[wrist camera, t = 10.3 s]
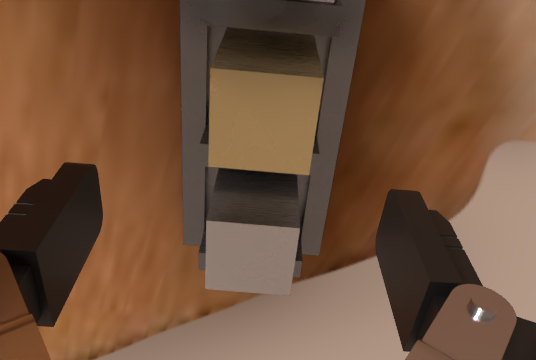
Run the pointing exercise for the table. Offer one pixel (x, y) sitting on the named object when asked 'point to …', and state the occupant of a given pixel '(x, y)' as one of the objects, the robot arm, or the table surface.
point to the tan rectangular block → (264, 101)
